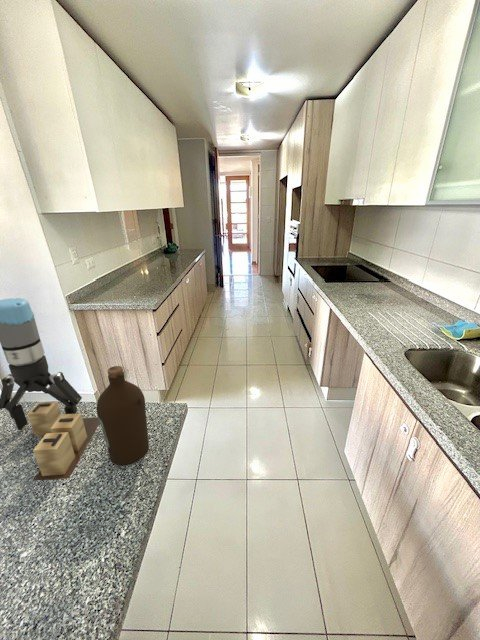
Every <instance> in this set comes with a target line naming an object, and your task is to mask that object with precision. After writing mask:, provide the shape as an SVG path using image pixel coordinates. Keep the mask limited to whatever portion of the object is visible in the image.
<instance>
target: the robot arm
mask: <svg viewBox="0 0 480 640" xmlns="http://www.w3.org/2000/svg"><path fill="white" fill-rule="evenodd" d="M35 318H36V317H35V314H34V311H33V310H32V307H31V305H30V302H29V300H27V299H25V298H20V297H17V298H4V299H0V346H1V349H2V351H3V355H4V357H5V360H6V363H7V364H8V368H9V371H10V373H9V374H7V375H6V376H5V377H3V378H2V379H1V380H0V381H1V385H2V388H1V392H0V410H3V409H6V411H8V413H9V416H10V418H11V419H12V420H14V422H15V425H16V427H17V430H18V431H21V430H23V429H24V427H26V425H27V424H28V419H27V417H26V414H25V411H24V408H23V405H22V404H21V403H20V404H19V402H20V400H21V399H22V398H23V397H24V395H25V394H26V392H28V393H33V392H38V393H40V392H42V393H44V394H45V395H46V394H48V395H50V397H53V398H54V399H55V400H56V401H57V402H60V403H61V404H62V405H64V414H77V412H78V408H77V406H78V404H79V403H80V402H81V401H82V398H83V397H82V396H81V395H80V393H79V392H77V389H75V388H74V386H72V385H71V383H70V382H69V381H68V380H67V379H66V378H65V375H64V373H63V372H62V371H59V372H57V373H53V374H51V373H50V371H49V364H48V361H47V357H46V355H45V349H44V347H43V343H42V340H41V336H40V333H39V330H38V329H39V328H38V326H37V322H36V319H35ZM15 384H16V385H18V386H19V387H18V388H17V390H16V392H15V394H14V395H13V391H14V386H15ZM48 386H49V387H48ZM12 395H13V397H12Z"/></svg>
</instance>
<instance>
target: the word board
mask: <svg viewBox="0 0 480 640" xmlns="http://www.w3.org/2000/svg"><path fill="white" fill-rule="evenodd" d="M82 418H83V422H84V426H85V430H86V434H87V438H86V439H85V441H84V443H83V444H82V446H81V448H80V450H79V451H77V452H74V454H75V458H74V459H73V461H72V463H71V465H70V466H69V468H68V470H67V471H66V473H65V474H63V475H49V476H42V474H41V471H40V470H39V471H38V472H37V474H36V475H35V477H34V478H33V480H32V481H35V482H37V481H48V480H49V481H50V480H62V479H70V478H71V476H72V475H73V472H74V471H75V469H76V468H77V465H78V463H79V462H80V460H81V458H82V457H83V455H84V453H85V451H86V450H87V448H88V446H89V444H90V442H91V440H92V438H93V436H94V435H95V434H96V431H97V430H98V428H99V426H100V422H99V418H98V416H97V417H82Z"/></svg>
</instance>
